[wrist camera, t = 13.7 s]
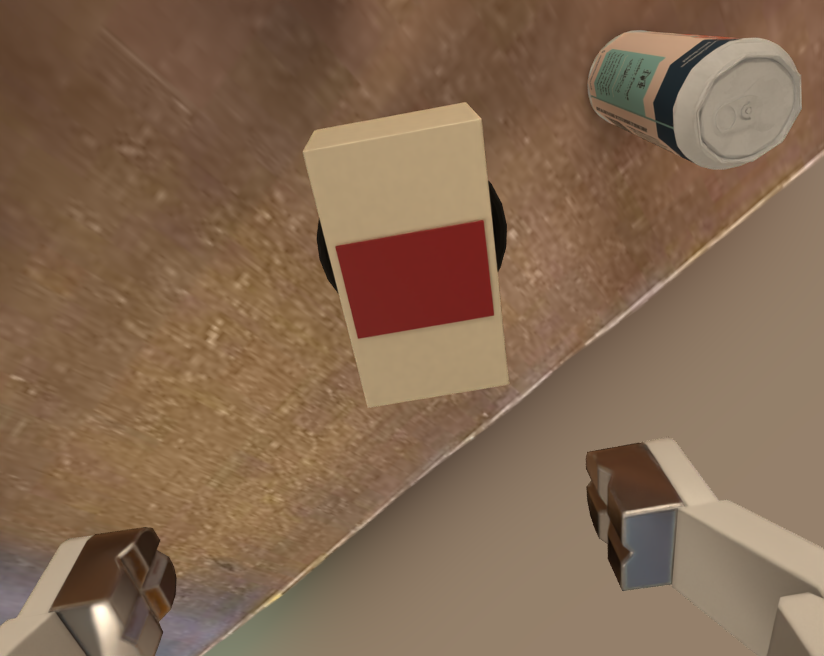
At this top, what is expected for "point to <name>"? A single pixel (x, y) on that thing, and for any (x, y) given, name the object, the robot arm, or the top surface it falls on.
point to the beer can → (698, 94)
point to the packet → (412, 251)
